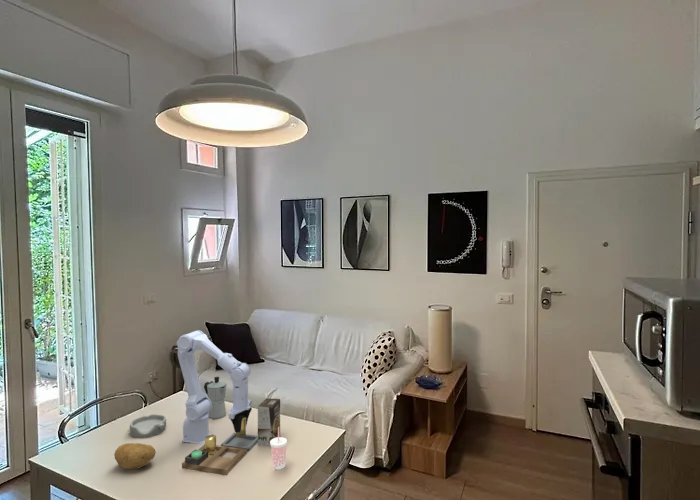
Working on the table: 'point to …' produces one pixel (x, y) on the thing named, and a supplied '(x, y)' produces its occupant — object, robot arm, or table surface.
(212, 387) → the coffee maker
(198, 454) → the button
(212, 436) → the seated billet
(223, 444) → the tote
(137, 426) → the dish
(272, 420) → the coffee box
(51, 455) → the table surface
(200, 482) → the table surface
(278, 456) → the beverage cup
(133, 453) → the potato
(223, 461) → the pallet board
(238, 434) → the cylinder
